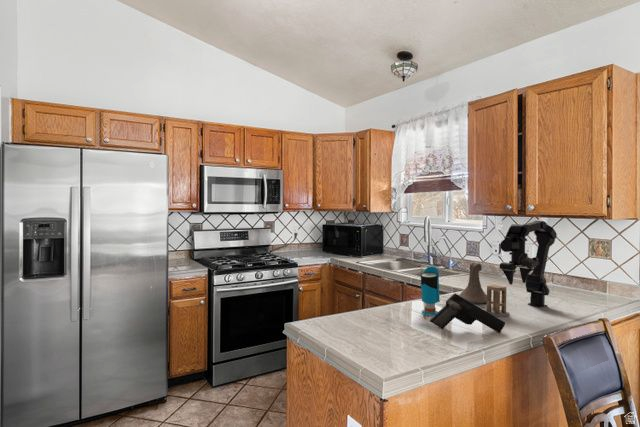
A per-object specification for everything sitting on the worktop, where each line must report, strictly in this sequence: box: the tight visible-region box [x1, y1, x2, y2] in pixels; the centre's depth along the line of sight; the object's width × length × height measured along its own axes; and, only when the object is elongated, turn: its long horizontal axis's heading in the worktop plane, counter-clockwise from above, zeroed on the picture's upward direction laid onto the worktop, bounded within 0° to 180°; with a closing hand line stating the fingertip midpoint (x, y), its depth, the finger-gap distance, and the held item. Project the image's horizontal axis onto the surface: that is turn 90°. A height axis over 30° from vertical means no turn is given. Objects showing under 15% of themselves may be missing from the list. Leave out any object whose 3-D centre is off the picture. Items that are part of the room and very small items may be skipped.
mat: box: [484, 308, 511, 318], centre depth 172 cm, size 11×11×1 cm
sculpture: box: [458, 261, 487, 305], centre depth 196 cm, size 17×17×20 cm
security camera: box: [420, 266, 441, 316], centre depth 171 cm, size 8×21×10 cm
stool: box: [486, 284, 507, 315], centre depth 172 cm, size 6×6×12 cm
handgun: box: [429, 292, 506, 334], centre depth 149 cm, size 2×24×15 cm, turn 78°
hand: (517, 283), depth 176 cm, fingers open, 9 cm apart
